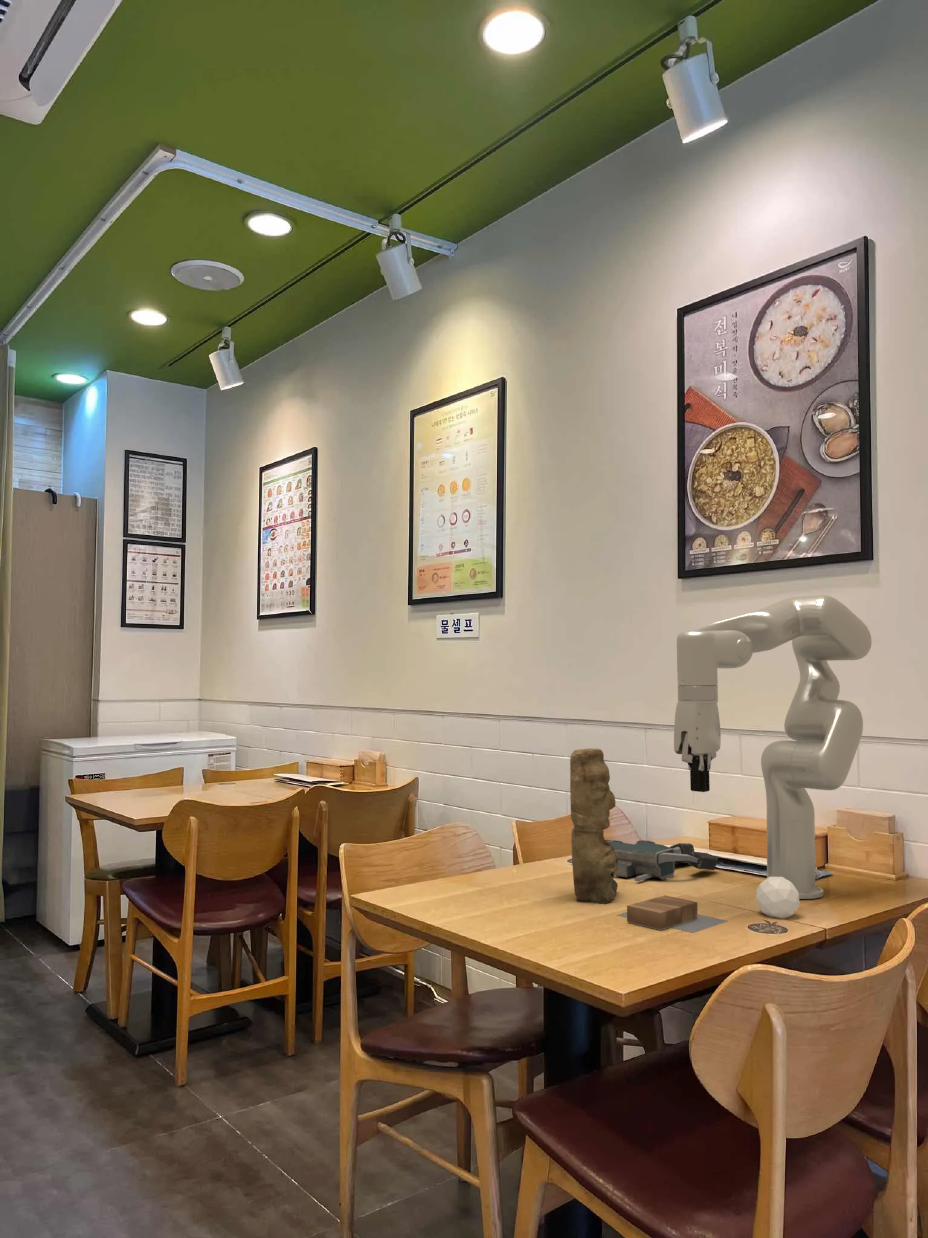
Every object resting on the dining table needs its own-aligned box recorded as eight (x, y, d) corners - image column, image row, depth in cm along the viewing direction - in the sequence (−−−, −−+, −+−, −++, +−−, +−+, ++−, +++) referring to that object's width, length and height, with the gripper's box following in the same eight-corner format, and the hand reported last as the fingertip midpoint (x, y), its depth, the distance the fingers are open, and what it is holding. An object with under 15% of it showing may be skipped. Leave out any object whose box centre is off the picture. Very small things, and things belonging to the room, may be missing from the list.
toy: (729, 849, 220) (681, 849, 196) (727, 886, 218) (678, 890, 194) (625, 833, 236) (568, 831, 212) (621, 867, 234) (564, 869, 210)
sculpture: (616, 908, 178) (616, 751, 180) (568, 905, 180) (569, 750, 182) (618, 894, 190) (618, 747, 192) (573, 891, 192) (574, 746, 194)
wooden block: (664, 895, 173) (627, 905, 165) (697, 902, 168) (660, 913, 160) (664, 911, 173) (626, 922, 165) (697, 919, 168) (660, 930, 160)
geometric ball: (789, 933, 172) (816, 902, 170) (762, 923, 168) (789, 890, 166) (766, 904, 178) (792, 874, 176) (739, 894, 174) (765, 862, 173)
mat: (653, 908, 178) (653, 904, 178) (728, 924, 167) (728, 920, 167) (616, 918, 170) (616, 915, 170) (692, 936, 159) (692, 932, 159)
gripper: (701, 693, 186) (703, 785, 185) (659, 696, 175) (661, 793, 174) (735, 694, 180) (737, 788, 179) (694, 696, 170) (696, 797, 169)
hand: (700, 790), depth 177 cm, fingers closed
